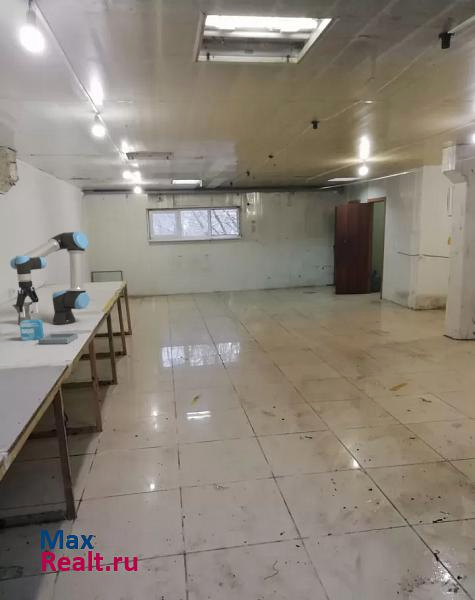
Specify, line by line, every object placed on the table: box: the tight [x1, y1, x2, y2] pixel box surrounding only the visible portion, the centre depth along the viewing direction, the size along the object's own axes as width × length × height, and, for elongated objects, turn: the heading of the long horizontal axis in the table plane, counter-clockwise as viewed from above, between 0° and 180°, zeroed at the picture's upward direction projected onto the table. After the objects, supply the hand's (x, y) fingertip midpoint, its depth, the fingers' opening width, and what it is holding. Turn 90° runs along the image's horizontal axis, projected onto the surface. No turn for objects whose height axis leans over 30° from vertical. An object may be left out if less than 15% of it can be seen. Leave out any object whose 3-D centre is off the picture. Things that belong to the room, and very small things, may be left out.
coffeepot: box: [11, 301, 34, 326], centre depth 308 cm, size 15×9×18 cm, turn 121°
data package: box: [19, 318, 45, 342], centre depth 263 cm, size 12×4×12 cm, turn 101°
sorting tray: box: [37, 332, 79, 346], centre depth 256 cm, size 14×18×3 cm
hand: (29, 314), depth 261 cm, fingers open, 13 cm apart
